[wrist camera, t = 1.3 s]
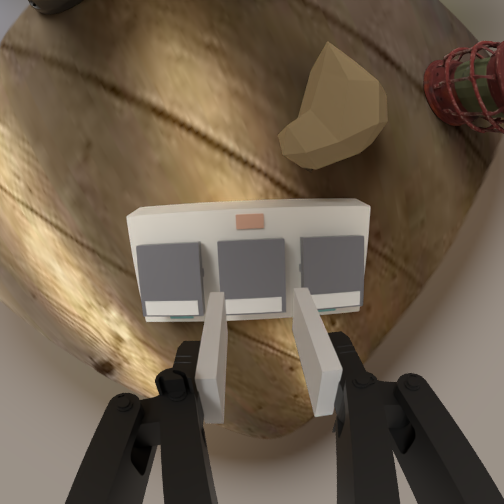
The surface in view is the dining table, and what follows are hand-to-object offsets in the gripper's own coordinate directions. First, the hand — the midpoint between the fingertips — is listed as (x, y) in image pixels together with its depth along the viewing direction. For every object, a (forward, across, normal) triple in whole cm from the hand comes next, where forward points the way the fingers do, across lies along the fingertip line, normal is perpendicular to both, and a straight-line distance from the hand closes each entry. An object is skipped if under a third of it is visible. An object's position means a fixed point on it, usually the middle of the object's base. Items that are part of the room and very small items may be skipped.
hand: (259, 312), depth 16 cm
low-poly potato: (+23, +9, +12) cm, 28 cm away
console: (+23, 0, -5) cm, 23 cm away
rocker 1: (+15, -9, -5) cm, 19 cm away
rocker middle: (+15, 0, -5) cm, 16 cm away
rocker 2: (+15, +9, -5) cm, 19 cm away
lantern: (+23, +30, +19) cm, 42 cm away
